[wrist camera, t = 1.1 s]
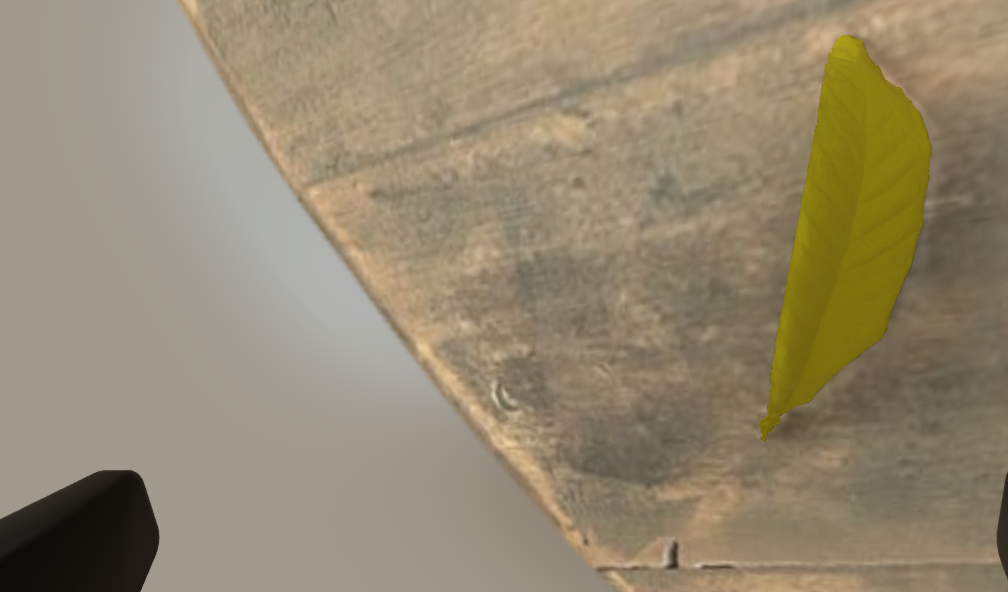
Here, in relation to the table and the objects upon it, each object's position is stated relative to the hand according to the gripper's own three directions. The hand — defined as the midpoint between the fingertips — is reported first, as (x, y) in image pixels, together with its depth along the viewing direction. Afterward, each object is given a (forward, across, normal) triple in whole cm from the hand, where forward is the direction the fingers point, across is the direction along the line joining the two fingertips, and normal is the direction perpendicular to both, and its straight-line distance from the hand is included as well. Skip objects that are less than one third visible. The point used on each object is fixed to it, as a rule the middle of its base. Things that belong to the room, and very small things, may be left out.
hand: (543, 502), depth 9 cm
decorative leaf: (+12, -6, +2) cm, 13 cm away
